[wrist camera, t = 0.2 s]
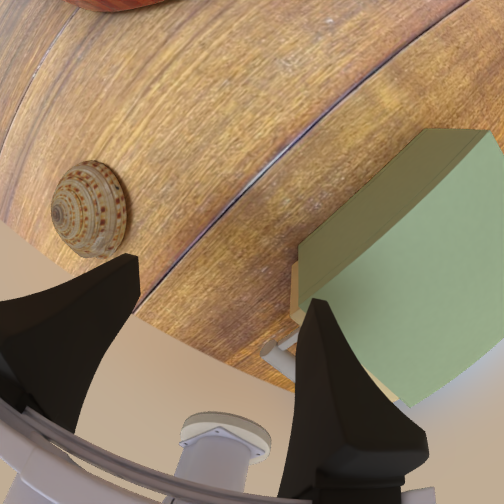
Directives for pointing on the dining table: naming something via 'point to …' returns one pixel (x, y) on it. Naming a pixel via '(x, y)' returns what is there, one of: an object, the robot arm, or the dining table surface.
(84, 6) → the planter
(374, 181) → the cabinet
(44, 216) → the dining table surface
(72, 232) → the seashell
